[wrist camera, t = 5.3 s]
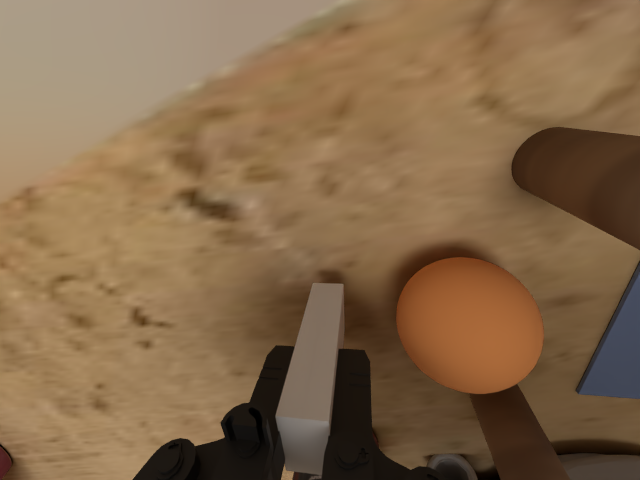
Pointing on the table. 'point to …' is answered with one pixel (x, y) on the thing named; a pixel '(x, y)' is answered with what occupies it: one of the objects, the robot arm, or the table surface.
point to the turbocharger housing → (582, 468)
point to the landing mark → (618, 351)
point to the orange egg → (470, 325)
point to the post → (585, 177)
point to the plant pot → (4, 463)
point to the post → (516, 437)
